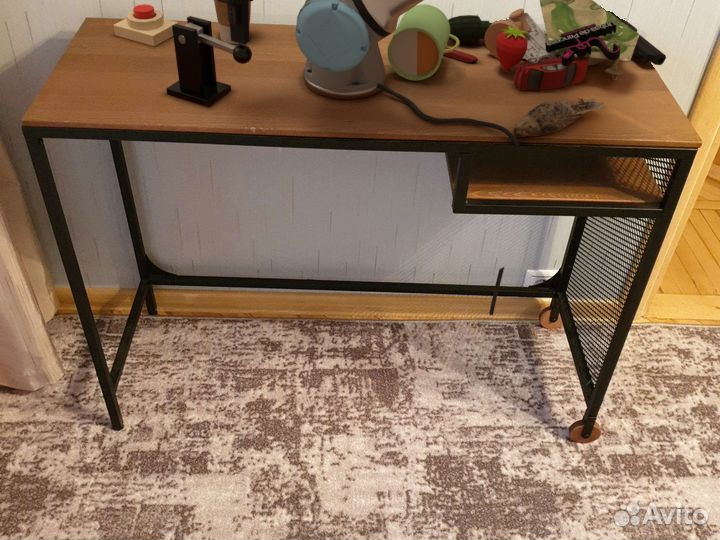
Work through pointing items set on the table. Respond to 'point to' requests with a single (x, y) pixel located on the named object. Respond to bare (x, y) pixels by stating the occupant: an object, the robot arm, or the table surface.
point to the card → (576, 10)
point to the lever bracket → (196, 66)
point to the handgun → (645, 48)
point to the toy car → (549, 73)
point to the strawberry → (511, 47)
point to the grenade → (468, 28)
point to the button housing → (145, 28)
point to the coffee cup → (226, 21)
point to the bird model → (552, 117)
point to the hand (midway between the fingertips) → (240, 40)
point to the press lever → (224, 45)
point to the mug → (420, 42)
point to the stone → (536, 42)
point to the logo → (583, 48)
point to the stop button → (144, 11)
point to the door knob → (503, 24)
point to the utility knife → (461, 56)
